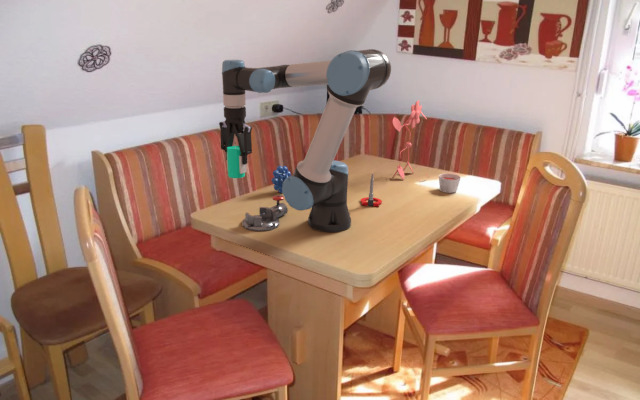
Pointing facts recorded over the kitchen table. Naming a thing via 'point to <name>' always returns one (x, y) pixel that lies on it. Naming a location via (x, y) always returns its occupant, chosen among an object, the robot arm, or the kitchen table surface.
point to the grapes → (280, 177)
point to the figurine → (415, 120)
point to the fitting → (266, 217)
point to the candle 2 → (449, 182)
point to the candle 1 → (234, 162)
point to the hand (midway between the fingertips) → (236, 171)
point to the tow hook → (371, 197)
